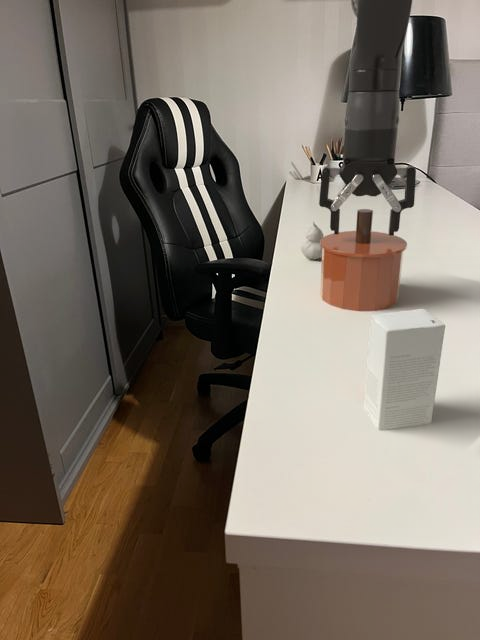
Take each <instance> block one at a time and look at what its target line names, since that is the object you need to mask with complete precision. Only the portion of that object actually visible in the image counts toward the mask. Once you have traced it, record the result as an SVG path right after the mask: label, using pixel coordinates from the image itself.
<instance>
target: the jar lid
mask: <svg viewBox="0 0 480 640" xmlns="http://www.w3.org/2000/svg"><path fill="white" fill-rule="evenodd" d="M373 216H374V210H373V209H369V208H361V209H357V212H356V225H355V230H349V231H348V230H347V231H346V230H345V231H339V234H334V232H333V233H330V234H327V235H324V237H323V238H322V239H321V240H320V245H321V247H322V248H323V249H325V250H327V251H329V252H332V253H335V254H339V255H344V256H351V257H385V256H391V255H395V254H398V253H401V252H403V253H404V251H406V249H407V248H408V242H407V241H406V240H405V239H404V238H402V237H401V236H397V235H395V234H394V235H389V233H387V232H380V231H373V218H374V217H373Z"/></svg>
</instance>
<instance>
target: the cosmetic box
mask: <svg viewBox="0 0 480 640" xmlns="http://www.w3.org/2000/svg"><path fill="white" fill-rule="evenodd" d="M368 331H369V332H368V342H367V343H368V344H367V358H366V359H367V361H366V374H365V390H364V401H363V402H364V403H363V410H364V412H365V413H366V414H367V416H368V417H369V419H370V420H371V422H372V423H373V425H374V426H375V428H376V429H377V430H378V431H386V430H394V429H401V428H408V427H409V428H410V427H416V426H422V425H430V424H432V421H433V414H434V413H433V412H434V406H435V400H436V393H437V386H438V385H437V384H438V379H439V372H440V365H441V358H442V351H443V343H444V338H445V331H446V324H445V323H443V322H442V321H441V320H440V319H438V318H437V317H436V316H435V315H433V314H432V313H430V312H429V311H428V310H427V309H425V308H418V309H411V310H410V309H409V310H401V311H391V312H383V313H373V314H370V316H369V330H368Z"/></svg>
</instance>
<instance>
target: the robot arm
mask: <svg viewBox="0 0 480 640" xmlns="http://www.w3.org/2000/svg"><path fill="white" fill-rule="evenodd" d="M350 4H351V5H350V6H351V9H352V12H353V15H354V16H355V18H356V29H355V30H356V31H355V43H354V49H353V51H352V53H351V57H350V64H349V78H348V79H349V81H348V95H347V102H346V106H345V118H344V136H343V137H344V140H343V157H342V158H343V160H342V164H341V166H340V167H332V166H331V167H330V166H329V165H324V166H323V167H322V171H321V178H320V191H319V201H318V205H319V207H321V208H326V209H328V210H329V212H330V219H329V220H330V222H329V228H330V231H332V232H333V233H334V234H339V232H340V218H341V217H340V216H341V206H342V205H343V204H344V203H345V202H346V201H347V200H348V198H349V197H350V196H351V194H352V195H354V196H355V197H364V196H368V197H377V196H380V195H381V194H382V196H383V197H384V199H385V200H386V201H387V203H388V204H389V206H390V207H391V208H390V210H389V222H388V234H389V235H395V233H398V231H399V229H400V223H401V222H400V221H401V213H402V212H403V210H406V209H412V208H413V207H415V200H416V199H415V196H416V195H415V194H416V179H417V170H416V167H415V166H414V165H412V164H409V165H407V166H401V167H399V166H398V167H397V166H396V162H395V161H396V149H397V139H398V128H399V127H398V126H399V123H400V117H399V116H400V86H401V77H402V76H401V75H402V61H403V60H402V59H403V51H404V45H405V41H406V37H407V32H408V28H409V22H410V17H411V12H412V6H413V0H350ZM337 176H339V177H340V178H341V180H342V181H343V183H344V186H343V187H342V188H341V189H340V191H339V192H338V194H337V195H336V196H335V198H334V199H331V198H329V191H330V183H333V182H334V181H335V179H336V177H337ZM397 176H399V177H400V180H401V182H403V183H404V198H403V199H398V198H397V196H396V195H395V193H394V192H393V190H392V189H391V187H390V186H389V185H390V184H391V183H392V182H393V181H394V179H395V178H396V177H397Z"/></svg>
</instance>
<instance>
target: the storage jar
mask: <svg viewBox="0 0 480 640" xmlns="http://www.w3.org/2000/svg"><path fill="white" fill-rule="evenodd" d="M403 258H404V251H403V252H401V253H398V254H395V255H391V256H385V257H351V256H344V255H339V254H335V253H332V252H329V251H327V250H325V249H323V248H322V257H321V265H320V266H321V267H320V270H321V271H320V291H319V292H320V293H319V295H320V297H321V300H322V301H324V303H326V304H328V305H329V306H332V307H335V308H338V309H340V310H341V309H342V310H346V311H353V312H354V311H355V312H376V311H382V310H386V309H389V308H391V307H393V306H395V305H396V304H397V303H398V300H399V294H400V287H401V285H400V284H401V277H402V267H403Z"/></svg>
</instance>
